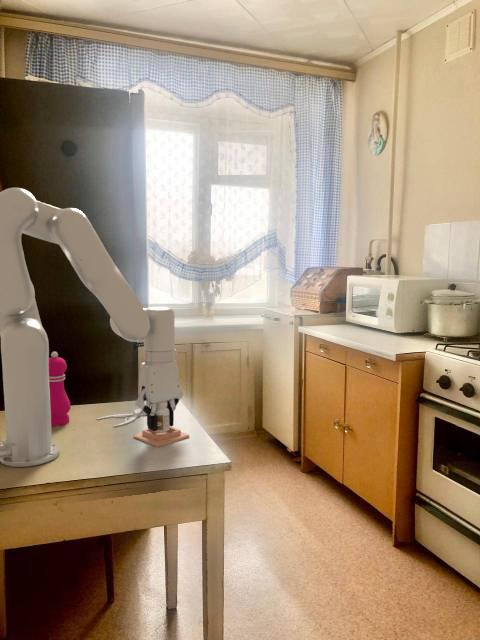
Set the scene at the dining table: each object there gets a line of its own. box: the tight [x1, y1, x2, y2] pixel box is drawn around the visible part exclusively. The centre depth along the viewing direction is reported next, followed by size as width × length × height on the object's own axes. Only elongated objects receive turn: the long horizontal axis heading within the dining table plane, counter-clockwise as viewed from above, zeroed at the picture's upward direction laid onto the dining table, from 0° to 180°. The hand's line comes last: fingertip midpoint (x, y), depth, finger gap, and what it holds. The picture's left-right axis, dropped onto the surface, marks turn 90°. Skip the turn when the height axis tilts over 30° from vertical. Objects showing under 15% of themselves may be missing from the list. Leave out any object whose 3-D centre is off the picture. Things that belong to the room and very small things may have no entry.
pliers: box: [96, 408, 147, 428], centre depth 148 cm, size 10×2×15 cm
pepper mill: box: [49, 351, 71, 427], centre depth 142 cm, size 7×7×20 cm
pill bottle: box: [152, 401, 169, 433], centre depth 131 cm, size 4×4×8 cm
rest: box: [133, 426, 190, 448], centre depth 131 cm, size 10×10×2 cm
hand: (160, 426), depth 131 cm, fingers closed on pill bottle, 4 cm apart
